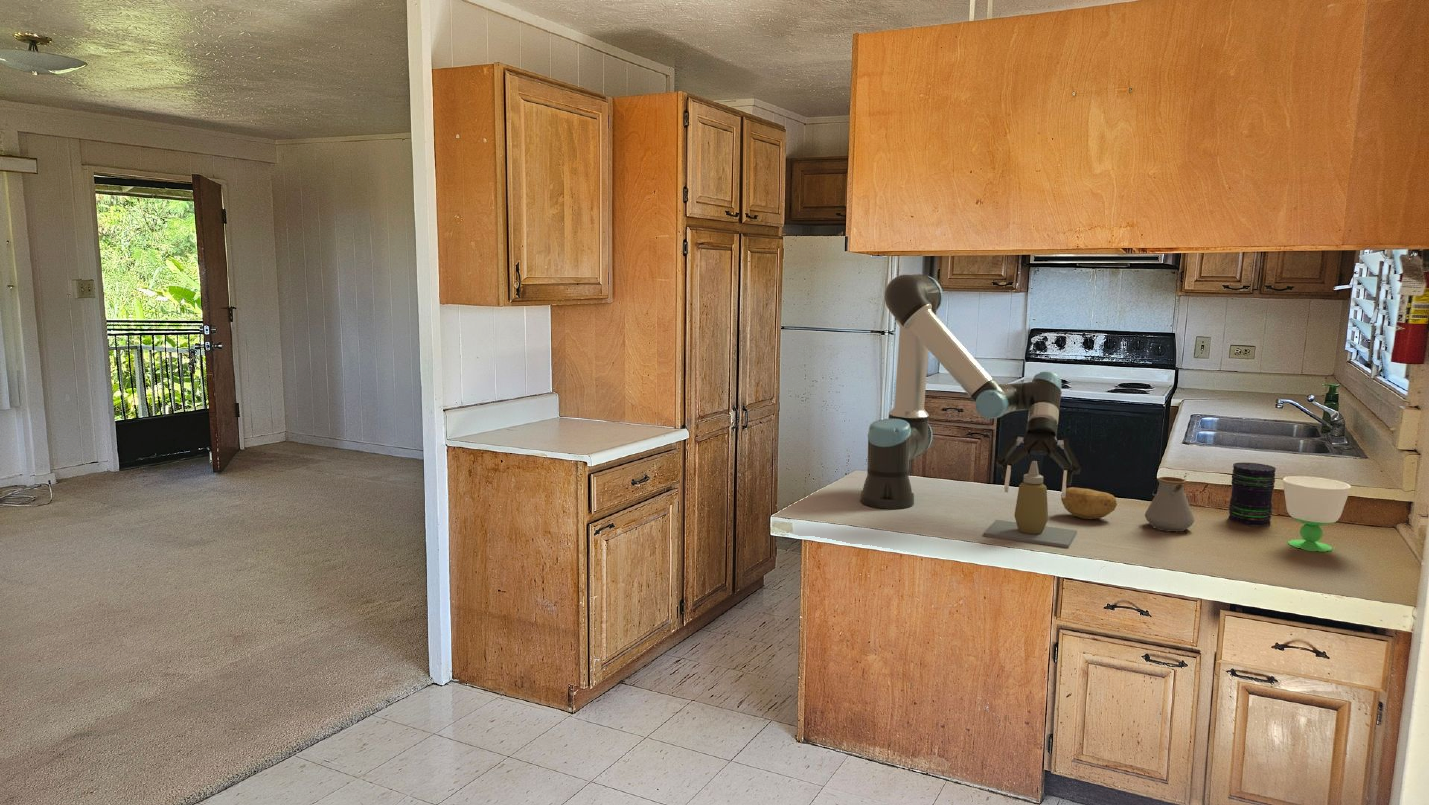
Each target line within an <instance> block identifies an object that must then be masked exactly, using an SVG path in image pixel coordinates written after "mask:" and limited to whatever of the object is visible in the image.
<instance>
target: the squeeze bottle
mask: <svg viewBox="0 0 1429 805" xmlns="http://www.w3.org/2000/svg"><path fill="white" fill-rule="evenodd" d="M1047 488H1048V487H1047V486H1046V485H1045V484H1044V476H1043V475H1041V474H1040V473H1039V466H1038V461H1037V460H1036V461H1035V460H1032V461H1031V463H1030V466H1029V469H1028V473H1025V474H1023V482H1021V483H1019V485H1018V489H1017V490H1018V491H1017V497H1016V504H1015V509H1014V518H1015V522H1016V523H1017V527H1018V530H1019V531H1021V532H1024V533H1028V534H1039V533H1042V532H1043V530H1044V528H1045V526H1046V525H1047V524H1048V521H1049V507H1048V506H1049V505H1048V489H1047Z"/></svg>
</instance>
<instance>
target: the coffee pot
mask: <svg viewBox="0 0 1429 805" xmlns="http://www.w3.org/2000/svg"><path fill="white" fill-rule="evenodd" d="M1156 480H1157V481H1158V483H1159V485H1160V486H1159V489H1158V490H1157V492H1156V494H1155V495H1154V497H1153V499H1152V500H1151V503H1150V504H1149V506H1148V507H1147V509H1146V511H1145V513H1144V518H1145V520H1146V521H1147V522H1148V523H1149V524H1150V525H1151V527H1152V528H1154V527H1155V528H1154V529H1156V528H1157V529H1156V530H1159V531H1163V530H1167V531H1166V532H1169V531H1176V532H1175V533H1178V532H1177V531H1182V532H1184V530H1185V531H1186V529H1189V528H1191V526H1192V525H1193V524H1194V522H1195V517H1194V514H1193V512H1192V509H1191V507H1190V504H1189V501H1188V498H1187V496H1186V493H1185V491H1186V488H1185V486H1184V485H1185V484H1186V483H1187V480H1186V479H1184V478H1181V477H1174V476H1160V477H1158V478H1156Z"/></svg>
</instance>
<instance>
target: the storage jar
mask: <svg viewBox="0 0 1429 805" xmlns="http://www.w3.org/2000/svg"><path fill="white" fill-rule="evenodd" d="M1232 468H1233V469H1232V473H1231V497H1230V499H1229V505H1228V510H1229V511H1228V513H1229V515H1228V520H1229V521H1230V522H1232V523H1235V524H1239V525H1243V526H1248V525H1249V526H1250V527H1269V526H1270V525H1271V522H1272V521H1271V519H1272V515H1273V514H1272V513H1273V503H1272V500H1273V490H1274V489H1275V482H1276V469H1277V468H1276V467H1274V466H1272V465H1269V464H1263V463H1257V462H1234V463H1233V465H1232ZM1268 525H1269V526H1268ZM1249 526H1248V527H1249Z"/></svg>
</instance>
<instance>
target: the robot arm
mask: <svg viewBox="0 0 1429 805" xmlns="http://www.w3.org/2000/svg"><path fill="white" fill-rule="evenodd" d="M883 296H884V302H885V306H886V308H887V309H888V311H889V312H890V313H891V315H892V316H893V317H894V321H895V322H896V324H897V325H898V326H899V332H898V346H897V347H898V350H897V365H896V380H895V381H896V382H895V395H894V406H893V408H892V409H890V411H889V412H888V418H884V419H877V420H875V421H872V423H870V425H869V427H868V433H867V468H866V469H867V472H866V477H865V480H864V484H863V487H862V490H861V492H860V500H859V501H860V503H861V504H863V505H864V506H868V507H872V508H877V509H888V510H894V509H895V510H896V509H897V510H898V509H899V510H900V509H906V508H911V507H912V506H914V504H915V494H914V492H913V489H912V485H911V484H912V483H911V480H910V477H909V475H910V471H909V470H910V460H912V459H914V458H918V457H920V456H921V455H922V454H925V452H926V451H927V450H928V449H929V448H930V446H931V444H932V441H933V430H932V427H931V425H930V424H929V422H930V420H929V419H930V418H929V417H930V415H929V413H928V412H927V411H926V409H925V402H926V401H925V400H926V387H927V386H926V385H927V372H928V360H929V358H928V357H929V352H930V353H931V354H932V355H933V357H934V358H935V359H936V360H937V361H938V363H939V364H940V365H942V367H943V368H944V369H945V370H946V371H947V372H948V373H949V374H950V375H951V377H952V378H953V379H954V380H955V381H956V382H957V384H958V385H959V386H960V387H961V388H962V389H963V390H964V392H965V393H966V394H967V395H968V396H969V398H970V399H972V401H974V403H975V405H974V406H975V410H976V412H977V413H978V415H980V416H981V417H983V418H984V419H987V420H988V419H989V420H990V419H998V418H1001V417H1003V416H1005V415H1006V414H1009V413H1011V412H1015V411H1016V412H1018V411H1028V416H1027V424H1026V432H1025V436H1024V437H1021V436H1018V434H1016V433H1015V434H1013V435H1012V438H1011V441H1010V442H1009V444H1008V445H1007V446H1006V447H1005V449H1004V450H1003V451H1002V452H1001V453H1000V455H999V456H998V457H997V458H996V460H995V462H996V464H995V465H996V467H997V468H1001V479H1002V480H1004V493H1009V487H1010V480H1011V479H1010V478H1011V473H1012V467H1013V466H1014V465H1016V464H1017V463H1018V462H1020V461H1021V460H1022V459H1024V458H1025V457H1028V456H1029V455H1030V454H1032V455H1034V456H1037V455H1040V456H1046V455H1048V456H1049V457H1050V458H1051V459H1052V460H1053V461H1055V463H1056V465H1058V466H1059V467H1060V468H1061V469H1062V470H1063V475H1062V487H1061V494H1062V498H1065V493H1066V489H1067V486H1071V485H1072V479H1073V475H1080V474H1081V465H1080V464H1079V462H1078V460H1077V458H1076V456H1075V454H1074V453H1073V450H1072V449H1071V447H1070V443H1069V442H1070V441H1069V438H1067V437H1066V438H1065V437H1064V438H1063V439H1061V440H1060V439H1059V440H1058V439H1057V435H1058V424H1059V415H1060V405H1061V398H1062V379H1061V377H1060V376H1059V375H1058V374H1056V373H1055V372H1051V371H1040V372H1039V373H1036V374H1034V376H1033V378H1032V381H1027V382H1019V383H1004V384H1001V383H999V384H998V383H997V381H995V380H994V378H993V377H992V376H991V375H990V374H989V373H988V371H986V369H985V368H984V367H983V366H982V365H981V364H980V362H978V360H977V359H976V358H975V357H974V356H973V355H972V354H971V353H970V351H968V349H967V348H966V347H965V346H964V345H963V344H962V342H960V340H959V339H958V338H957V337H956V336H955V335H954V333H952V332H951V330H949V328H948V327H947V326H946V325H945V324H944V323H943V321H942V320H941V319H940V318H939V317H938V316H937V311H938V309H939V308H940V306H941V305H942V302H943V299H944V298H943V296H944V295H943V289H942V286H941V285H940V283H939V282H938V281H937V280H936V279H935V278H933V277H932V276H929V275H926V274H922V273H918V274H900V275H897V276H896V277H894V278H893V279H892V280H891V281H889V282H888V283H887V286H886V288H885V291H884V295H883ZM1022 443H1023V445H1022V447H1021V448H1020V449H1019V450H1017V451H1016V452H1014V451H1015V450H1016V448H1017V447H1018V446H1020V445H1021V444H1022ZM1057 447H1059V448H1061V450H1063V452H1064V454H1065V457H1066V458H1067V460H1066V459H1065V458H1064V457H1063V456H1062V455H1061V454H1060V453H1059V452H1058V451H1057V449H1056V448H1057ZM1013 452H1014V453H1013ZM1012 453H1013V454H1012ZM1068 462H1069V463H1068Z"/></svg>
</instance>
